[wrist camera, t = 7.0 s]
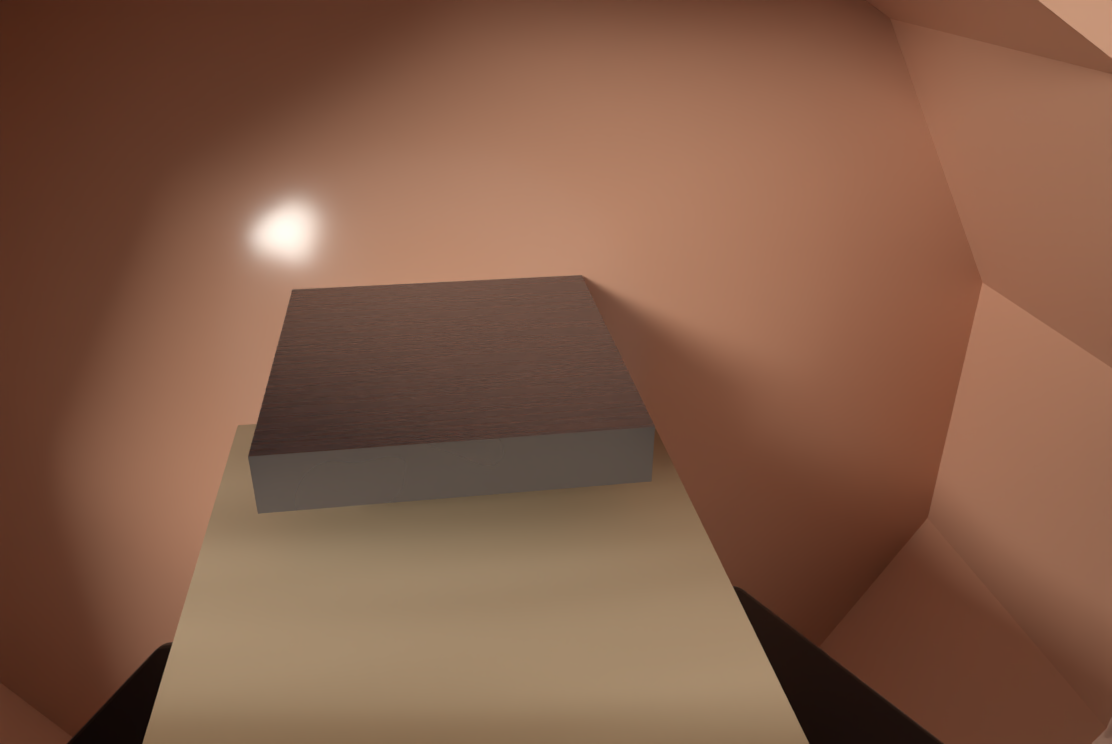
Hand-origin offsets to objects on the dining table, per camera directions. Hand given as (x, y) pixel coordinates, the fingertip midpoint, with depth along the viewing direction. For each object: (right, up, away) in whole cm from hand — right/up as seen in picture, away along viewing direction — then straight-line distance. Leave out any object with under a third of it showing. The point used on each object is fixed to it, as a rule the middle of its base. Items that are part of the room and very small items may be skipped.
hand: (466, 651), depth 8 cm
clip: (-1, +2, +3) cm, 4 cm away
